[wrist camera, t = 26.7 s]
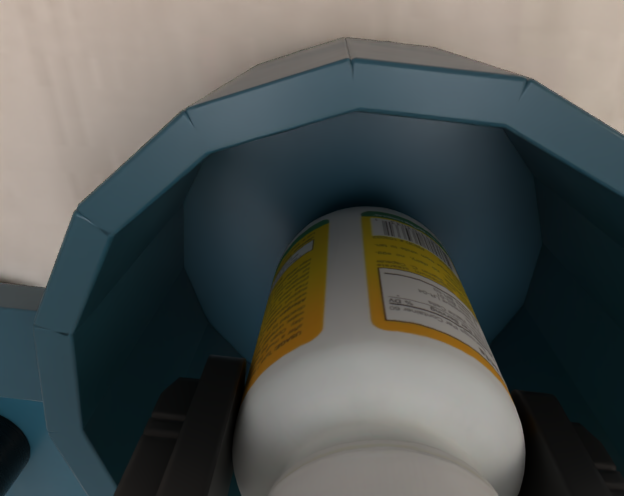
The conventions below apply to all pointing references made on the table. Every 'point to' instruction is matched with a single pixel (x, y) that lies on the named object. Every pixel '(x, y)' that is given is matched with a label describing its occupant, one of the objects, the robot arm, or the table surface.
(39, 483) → the lid
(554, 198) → the pot
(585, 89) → the table surface
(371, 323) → the supplement bottle
